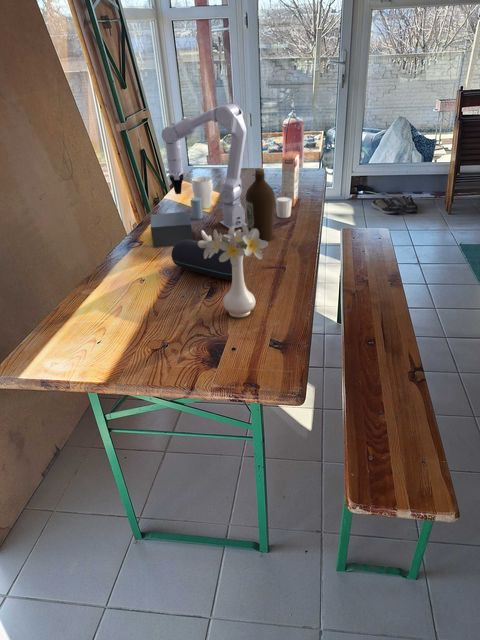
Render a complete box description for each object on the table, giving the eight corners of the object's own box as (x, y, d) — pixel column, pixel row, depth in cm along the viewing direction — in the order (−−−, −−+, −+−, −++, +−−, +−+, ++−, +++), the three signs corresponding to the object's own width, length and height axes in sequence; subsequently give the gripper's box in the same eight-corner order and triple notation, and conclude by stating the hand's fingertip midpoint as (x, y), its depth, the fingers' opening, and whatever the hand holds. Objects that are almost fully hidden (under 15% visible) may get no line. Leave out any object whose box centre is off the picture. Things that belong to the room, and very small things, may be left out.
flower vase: (211, 300, 147) (204, 217, 133) (272, 304, 144) (272, 220, 131) (199, 322, 137) (190, 235, 123) (265, 327, 134) (263, 238, 120)
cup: (213, 209, 218) (211, 181, 211) (192, 209, 218) (189, 182, 211) (215, 203, 225) (213, 176, 219) (195, 203, 225) (192, 176, 219)
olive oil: (269, 230, 195) (269, 164, 181) (278, 240, 186) (278, 171, 173) (243, 234, 192) (241, 167, 178) (251, 243, 184) (249, 174, 170)
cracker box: (294, 208, 218) (295, 158, 206) (280, 207, 219) (281, 157, 207) (298, 198, 229) (300, 151, 218) (286, 197, 230) (286, 150, 219)
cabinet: (153, 233, 194) (150, 214, 190) (190, 230, 196) (189, 211, 192) (153, 247, 182) (150, 227, 178) (193, 244, 184) (191, 224, 180)
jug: (191, 215, 211) (190, 197, 207) (202, 215, 212) (200, 196, 208) (192, 220, 206) (190, 201, 202) (203, 219, 207) (201, 200, 203)
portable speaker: (249, 275, 161) (249, 246, 155) (233, 287, 154) (231, 257, 148) (188, 260, 172) (185, 233, 166) (170, 271, 165) (166, 242, 159)
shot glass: (292, 213, 212) (292, 196, 208) (291, 218, 207) (291, 201, 203) (276, 212, 213) (276, 196, 209) (274, 218, 207) (274, 201, 203)
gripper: (164, 155, 201) (168, 189, 208) (164, 163, 189) (168, 199, 196) (181, 154, 202) (184, 188, 209) (183, 162, 190) (186, 198, 197)
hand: (178, 193), depth 203 cm, fingers closed
